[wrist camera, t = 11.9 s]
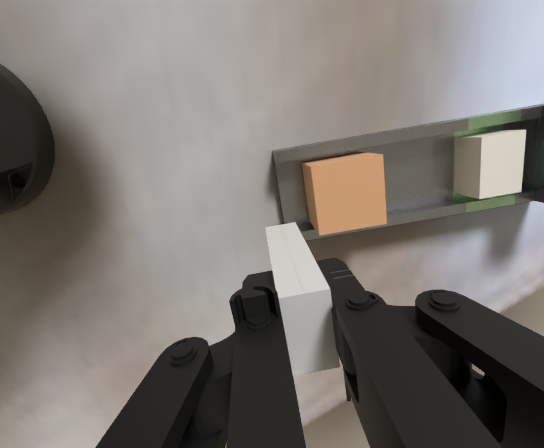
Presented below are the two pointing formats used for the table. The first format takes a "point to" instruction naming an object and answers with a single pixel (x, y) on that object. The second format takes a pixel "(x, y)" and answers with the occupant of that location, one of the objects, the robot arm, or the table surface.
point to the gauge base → (417, 168)
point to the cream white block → (489, 163)
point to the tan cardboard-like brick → (345, 192)
